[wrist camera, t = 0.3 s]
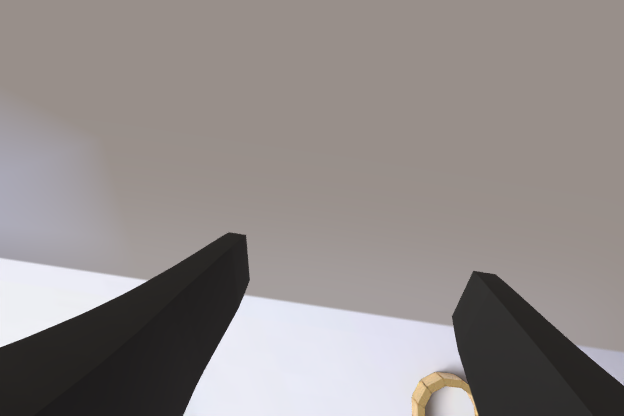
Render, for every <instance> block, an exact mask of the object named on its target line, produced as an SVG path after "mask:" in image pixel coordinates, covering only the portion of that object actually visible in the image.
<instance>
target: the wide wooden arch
mask: <svg viewBox="0 0 624 416" xmlns="http://www.w3.org/2000/svg"><path fill="white" fill-rule="evenodd" d="M421 381H422V382H421ZM421 381H419V383H418V385H417V387H416V389H415V391H414V393H413V395H412V396H413V397H412V416H425V406H426V404H427V402H428V400H429V398H430V396H431V394H432V393H433V392H435V391H437V390H439V389H441V388H442V387H444V386H449V387H458V388H462V389H463V390H465V391H466V392H467V394H468V396H469V397H470V399H471V401H472V403H473V404H474V410H475V416H478V413H477V409H476V406H475V403H474V400H473V397H472V394H471V391H470V387H469V384H467V383H466V382H464V381H463V380H462V379H460V378H459V377H457V376H456V375H454V374H450V373H441V372H436V373H435V372H434V373H432V374H430V375H429V376H427V377H425V378H423V379H421Z"/></svg>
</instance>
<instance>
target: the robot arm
mask: <svg viewBox="0 0 624 416" xmlns="http://www.w3.org/2000/svg"><path fill="white" fill-rule="evenodd" d="M249 280H250V278H249V266H248V254H247V242H246V235H241V234H236V233H227V234H225V235H224V236H222V237H220V238H219V239H217V240H216V241H214V242H212V243H210V244H209V245H207V246H206V247H204V248H203V249H201V250H200V251H198V252H196V253H195V254H193V255H191V256H190V257H188V258H187V259H185V260H183V261H181V262H180V263H178V264H177V265H175V266H173V267H172V268H170V269H168V270H166V271H165V272H163V273H161V274H159V275H158V276H156V277H154V278H152V279H150V280H149V281H147V282H145V283H143V284H142V285H140V286H138V287H136V288H134V289H132V290H130V291H129V292H127V293H125V294H123V295H121V296H119V297H117V298H115V299H113V300H111V301H109V302H106V303H104V304H102V305H100V306H98V307H96V308H94V309H92V310H90V311H88V312H85V313H83V314H81V315H79V316H76V317H74V318H72V319H69V320H67V321H64V322H62V323H60V324H57V325H55V326H53V327H50V328H48V329H45V330H43V331H41V332H38V333H36V334H34V335H31V336H29V337H26V338H24V339H21V340H19V341H16V342H13V343H11V344H8V345H6V346H3V347H0V416H183V414H184V412H185V410H186V407H187V405H188V403H189V401H190V399H191V396H192V394H193V392H194V390H195V387H196V385H197V383H198V381H199V379H200V377H201V375H202V374H203V372H204V370H205V368H206V366H207V364H208V363H209V361H210V359H211V357H212V355H213V353H214V352H215V350H216V348H217V346H218V344H219V343H220V341H221V339H222V337H223V335H224V334H225V332H226V330H227V328H228V326H229V324H230V323H231V321H232V319H233V317H234V315H235V313H236V312H237V310H238V308H239V306H240V303H241V301H242V298H243V296H244V293H245V291H246V288H247V286H248V283H249ZM452 319H453V325H454V332H455V337H456V342H457V347H458V352H459V355H460V358H461V362H462V365H463V368H464V371H465V375H466V378H467V381H468V384H469V387H470V391H471V394H472V397H473V400H474V403H475V406H476V409H477V413H478V416H624V386H623V385H622V384H621V383H620V382H618V381H617V380H616V379H615V378H614V377H612V376H611V375H610V374H609V373H608V372H606V371H605V370H604V369H603V368H602V367H600V366H599V365H598V364H597V363H595V362H594V361H593V360H592V359H591V358H590V357H588V356H587V355H586V354H585V353H584V352H583V351H581V350H580V349H579V348H578V347H577V346H576V345H574V344H573V343H572V342H571V341H570V340H569V339H568V338H566V337H565V336H564V335H563V334H562V333H561V332H560V331H559V330H557V329H556V328H555V327H554V326H553V325H552V324H551V323H550V322H548V321H547V320H546V319H545V318H544V317H543V316H542V315H541V314H540V313H538V312H537V311H536V310H535V309H534V308H533V307H532V306H531V305H530V304H529V303H527V302H526V301H525V300H524V299H523V298H522V297H521V296H520V295H519V294H517V293H516V292H515V291H514V290H513V289H512V288H511V287H510V286H508V285H507V284H506V283H505V282H504V281H503V280H502V279H500V278H499V277H498V276H497V275H495V274H490V273H483V272H477V271H473V273H472V275H471V277H470V279H469V281H468V284H467V286H466V288H465V290H464V292H463V294H462V296H461V298H460V301H459V303H458V305H457V307H456V309H455V311H454V313H453V316H452Z"/></svg>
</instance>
